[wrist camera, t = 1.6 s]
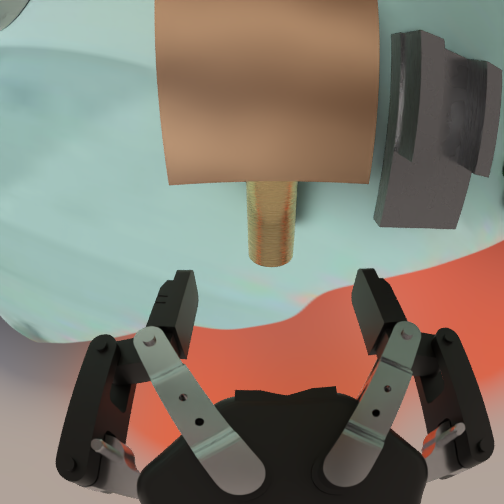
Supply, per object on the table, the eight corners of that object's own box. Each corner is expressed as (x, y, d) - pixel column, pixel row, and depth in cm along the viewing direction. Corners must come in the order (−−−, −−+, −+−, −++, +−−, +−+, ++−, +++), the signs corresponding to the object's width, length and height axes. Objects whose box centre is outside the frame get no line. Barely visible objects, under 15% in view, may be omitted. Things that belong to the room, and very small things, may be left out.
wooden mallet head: (189, 21, 13) (154, -7, 7) (334, 22, 13) (377, -3, 7) (197, 148, 19) (168, 185, 13) (331, 147, 19) (368, 184, 13)
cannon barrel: (238, 22, 12) (246, 9, 9) (289, 24, 12) (307, 14, 10) (245, 243, 21) (252, 269, 19) (286, 239, 22) (298, 263, 19)
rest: (391, 34, 13) (418, 28, 10) (473, 66, 13) (503, 71, 10) (373, 218, 22) (391, 243, 19) (447, 221, 22) (468, 243, 19)
